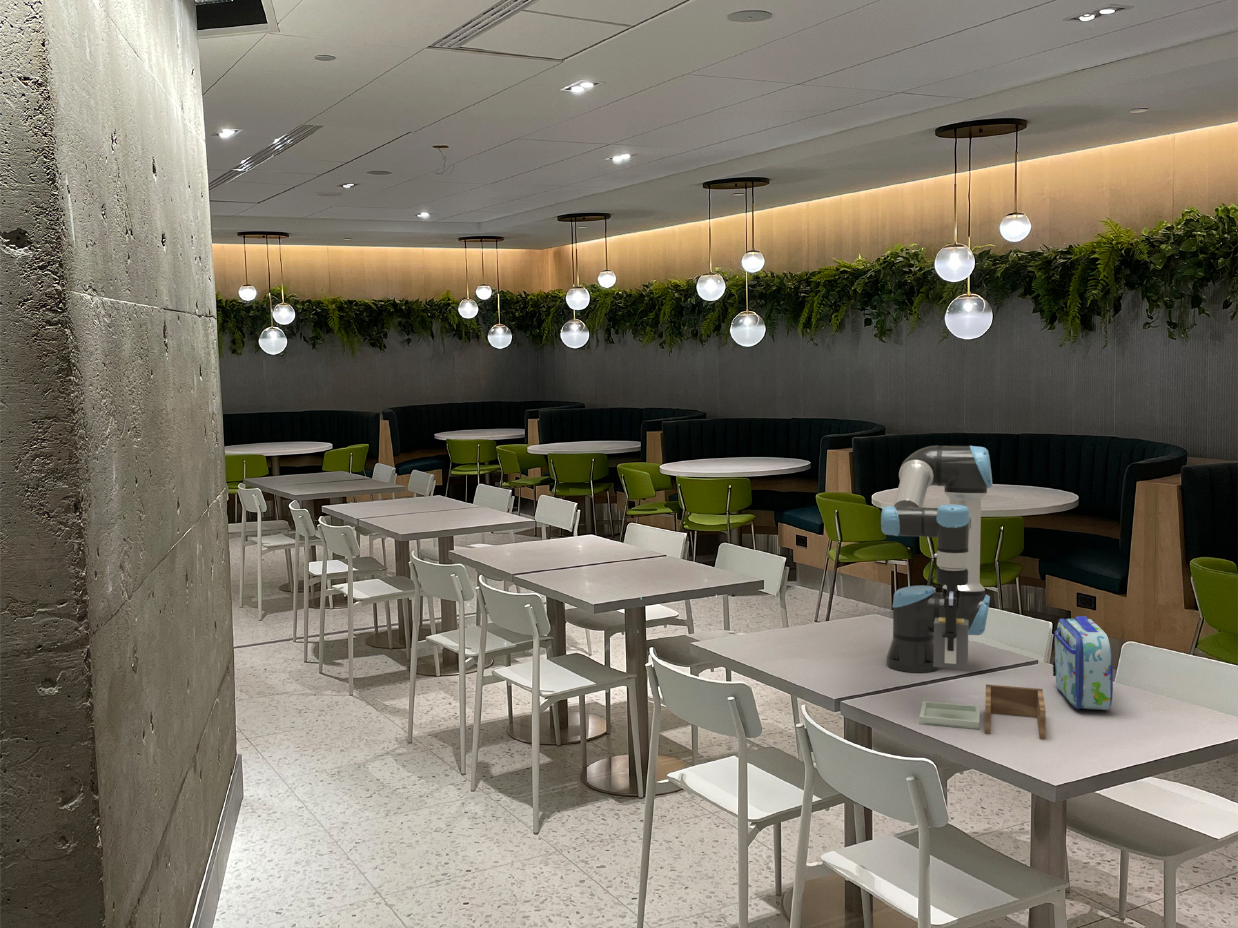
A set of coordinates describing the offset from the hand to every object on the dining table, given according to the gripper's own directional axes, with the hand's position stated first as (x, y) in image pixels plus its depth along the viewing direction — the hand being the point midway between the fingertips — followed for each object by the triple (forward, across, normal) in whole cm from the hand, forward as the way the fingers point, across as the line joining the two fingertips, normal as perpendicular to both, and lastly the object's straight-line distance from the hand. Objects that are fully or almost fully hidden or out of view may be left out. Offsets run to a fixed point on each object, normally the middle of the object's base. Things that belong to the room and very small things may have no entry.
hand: (950, 659), depth 264 cm
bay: (+15, 0, +15) cm, 21 cm away
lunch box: (+15, -25, +32) cm, 43 cm away
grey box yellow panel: (+1, 0, 0) cm, 1 cm away
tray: (+15, 0, 0) cm, 15 cm away
